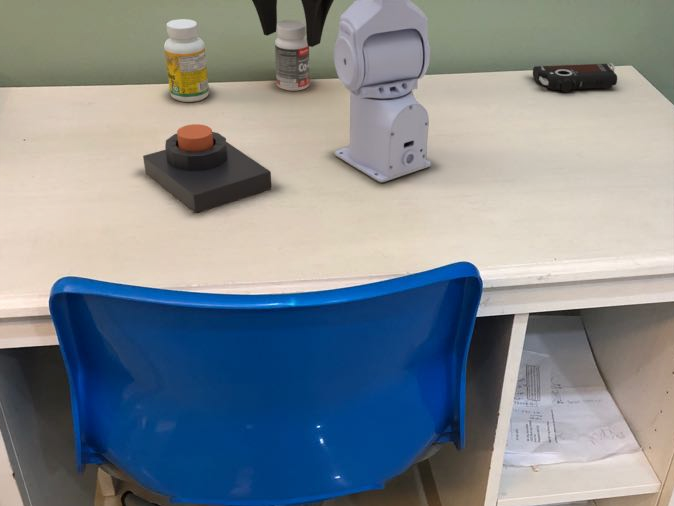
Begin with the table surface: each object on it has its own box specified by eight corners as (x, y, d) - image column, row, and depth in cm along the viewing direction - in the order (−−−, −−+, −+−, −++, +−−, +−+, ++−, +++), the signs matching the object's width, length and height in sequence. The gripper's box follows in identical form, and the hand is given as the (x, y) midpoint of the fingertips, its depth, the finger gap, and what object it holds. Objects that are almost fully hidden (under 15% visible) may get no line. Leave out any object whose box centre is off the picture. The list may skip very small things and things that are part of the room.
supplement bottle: (212, 100, 119) (205, 28, 113) (173, 104, 118) (164, 31, 112) (205, 86, 123) (198, 15, 117) (167, 90, 122) (158, 18, 116)
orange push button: (220, 147, 100) (218, 133, 99) (189, 156, 98) (187, 141, 97) (202, 135, 102) (201, 121, 101) (172, 143, 100) (170, 129, 99)
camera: (620, 75, 123) (545, 78, 123) (616, 93, 125) (542, 96, 125) (607, 55, 128) (534, 58, 127) (603, 74, 130) (531, 77, 129)
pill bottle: (305, 92, 122) (303, 31, 117) (272, 89, 123) (269, 28, 118) (313, 80, 126) (312, 20, 120) (281, 77, 127) (279, 17, 121)
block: (271, 188, 100) (270, 156, 98) (195, 213, 96) (191, 179, 93) (218, 152, 107) (215, 120, 105) (145, 173, 103) (140, 140, 100)
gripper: (224, -73, 112) (232, 35, 121) (316, -55, 106) (317, 58, 115) (258, -83, 116) (264, 22, 125) (348, -66, 110) (347, 43, 119)
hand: (291, 38), depth 120 cm, fingers open, 7 cm apart
